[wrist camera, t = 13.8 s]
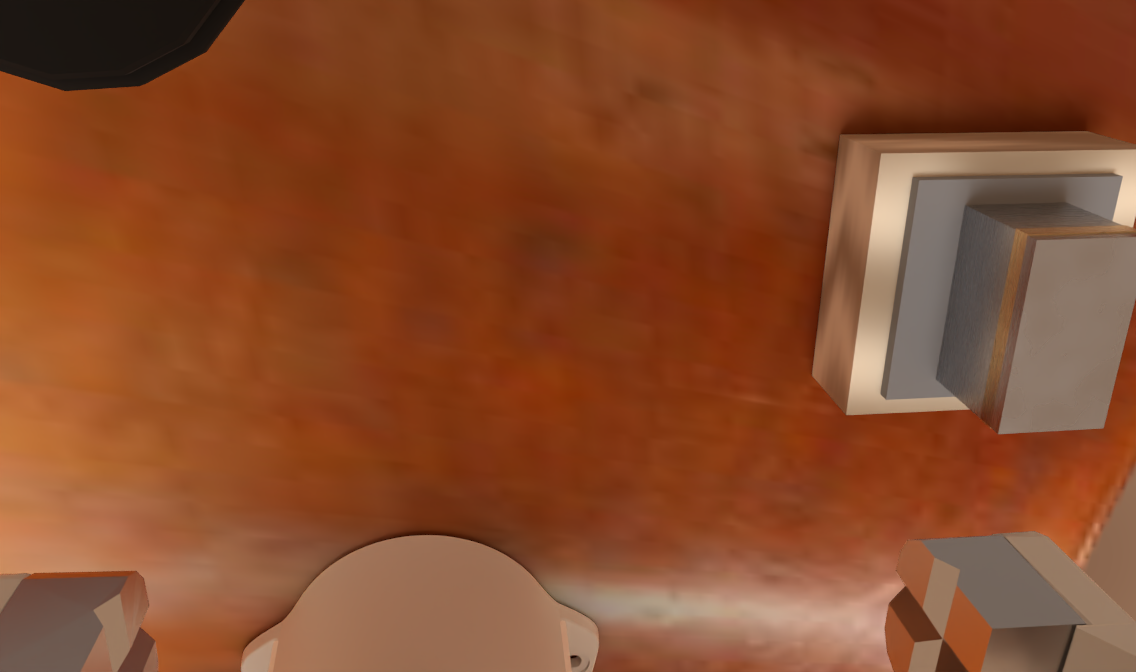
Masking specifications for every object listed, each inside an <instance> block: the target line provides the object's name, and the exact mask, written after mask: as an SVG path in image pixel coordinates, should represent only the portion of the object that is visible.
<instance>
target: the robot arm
mask: <svg viewBox="0 0 1136 672" xmlns="http://www.w3.org/2000/svg"><path fill="white" fill-rule="evenodd" d="M896 572H897V574H898V575H899V577H900V578H901V580H902V582H903V583H904V585H905V587H904V588H903V589H902V590H901V591H900V592H899V593H898V594H897V595H896V597H895V598H894V599H893V600H892V601H891V602H890V603H889V605H888V611H887V617H886V623H885V636H886V645H887V653H888V656H889V659H890V662H891V664H892V667H893V670H894V672H1136V622H1135V621H1134V620H1133V619H1132V618H1131V617H1130V616H1129V615H1128V614H1127V613H1126V612H1125V611H1124V610H1123V609H1122V608H1120V606H1119V605H1118V604H1117V603H1115V602H1114V600H1112V599H1111V598H1110V597H1109V596H1108V595H1107V594H1106V593H1105V592H1104V591H1103V590H1102V589H1101V588H1100V587H1099V586H1098V585H1097V584H1096V583H1095V582H1094V581H1093V580H1092V579H1091V578H1090V577H1089V576H1088V575H1087V574H1086V573H1085V572H1084V571H1083V570H1082V569H1081V568H1080V567H1079V566H1077V565H1076V564H1075V563H1074V562H1073V561H1072V560H1071V559H1070V558H1069V557H1068V556H1067V555H1066V554H1065V553H1064V552H1063V551H1062V550H1061V549H1060V548H1059V547H1058V546H1057V545H1056V544H1055V543H1054V542H1053V541H1052V540H1051V539H1050V538H1049V537H1047V536H1045V535H1043V534H1040V533H1038V532H1035V531H1030V532H1016V533H1002V534H992V535H991V536H974V537H954V538H935V539H915V540H907V541H906V543H905V545H904V546H903V548H902V549H901V551H900V554H899V559H898V563H897V567H896ZM148 607H149V601H148V596H147V591H146V586H145V581H144V578H143V577H142V576H141V575H140V574H139V573H138V572H137V571H112V572H65V573H34V574H32V575H31V574H27V573H24V574H0V672H158V657H157V650H156V643H155V640H154V639H153V638H151V637H150V636H149V635H148V634H147V633H146V632H145V631H144V630H143V629H141V628H140V626H141V623H142V621H143V619H144V616H145V614H146V612H147V609H148ZM598 649H599V633H598V628H597V626H596V624H595V623H594V622H593V621H592V620H591V619H589V618H588V617H586V616H584V615H583V614H581V613H579V612H577V611H575V610H573V609H571V608H568V607H566V606H564V605H562V604H559V603H557V602H556V601H555V600H554V599H553V598H551V597H550V596H549V595H548V593H547V592H546V591H545V590H544V589H543V588H542V587H541V585H540V584H539V583H538V582H537V581H536V579H535V578H534V577H533V576H532V575H531V574H530V573H529V572H528V571H527V570H526V569H524V568H523V567H522V566H521V565H520V564H518V563H517V562H515V561H514V560H513V559H511V558H509V557H508V556H506V555H505V554H503V553H501V552H499V551H497V550H495V549H493V548H490V547H488V546H485V545H483V544H480V543H477V542H473V541H470V540H466V539H461V538H456V537H449V536H439V535H415V536H405V537H399V538H393V539H389V540H384V541H381V542H377V543H374V544H371V545H368V546H366V547H363V548H361V549H358V550H356V551H354V552H352V553H350V554H348V555H346V556H345V557H343V558H341V559H340V560H338V561H337V562H335V563H334V564H332V565H331V566H329V567H328V568H327V569H326V570H324V571H323V572H322V573H321V574H320V575H319V576H318V577H317V578H316V579H315V580H314V581H313V582H312V583H311V584H310V585H309V586H308V588H307V589H306V590H305V591H304V593H303V594H302V596H301V597H300V599H299V600H298V602H297V603H296V605H295V606H294V608H293V609H292V611H291V612H290V613H289V614H288V616H287V617H286V618H285V619H284V620H283V621H282V622H280V623H279V624H277V625H275V626H274V627H272V628H271V629H269V630H267V631H266V632H264V633H263V634H261V635H260V636H258V637H257V638H255V639H254V640H253V641H252V642H250V643H249V644H248V645H247V647H246V648H245V649H244V652H243V655H242V662H241V672H593V668H594V665H595V661H596V657H597V653H598ZM572 655H577V657H576V658H570V656H572Z"/></svg>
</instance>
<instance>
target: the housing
mask: <svg viewBox="0 0 1136 672" xmlns="http://www.w3.org/2000/svg"><path fill="white" fill-rule="evenodd" d="M1135 299H1136V229H1134V228H1132V227H1129V226H1127V225H1121V224H1118V223H1116V222H1113V221H1111V220H1109V219H1106V218H1104V217H1101V216H1099V215H1096V214H1094V213H1091V212H1089V211H1086V210H1084V209H1081V208H1079V207H1076V206H1074V205H1071V204H1069V203H1066V202H1058V203H1022V204H986V205H965V207H964V213H963V219H962V225H961V231H960V237H959V243H958V249H957V255H956V261H955V267H954V273H953V279H952V285H951V291H950V297H949V303H948V309H947V315H946V321H945V327H944V333H943V339H942V345H941V351H940V357H939V363H938V369H937V375H936V380H937V381H938V382H939V383H940V384H942V385H943V386H944V387H945V388H946V389H947V390H948V391H950V392H951V393H952V394H953V395H954V396H955V397H956V398H957V399H959V400H960V401H961V402H962V403H963V404H964V405H965V406H967V407H968V408H969V409H970V410H971V411H972V412H973V413H975V414H976V415H977V416H978V417H979V418H980V420H981V421H982V422H983V423H985V424H986V425H987V426H988V427H989V428H992V429H993V430H994V431H995V432H996V433H997V434H1009V433H1027V432H1045V431H1063V430H1081V429H1099V428H1104V424H1105V420H1106V416H1107V412H1108V408H1109V404H1110V400H1111V396H1112V392H1113V387H1114V383H1115V379H1116V375H1117V371H1118V367H1119V363H1120V359H1121V355H1122V351H1123V347H1124V343H1125V339H1126V335H1127V331H1128V327H1129V323H1130V319H1131V315H1132V311H1133V307H1134V303H1135Z"/></svg>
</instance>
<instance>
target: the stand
mask: <svg viewBox="0 0 1136 672" xmlns="http://www.w3.org/2000/svg"><path fill="white" fill-rule="evenodd" d="M1058 202H1066V203H1069V204H1071V205H1074V206H1076V207H1079V208H1081V209H1084V210H1086V211H1089V212H1091V213H1094V214H1096V215H1099V216H1101V217H1104V218H1106V219H1109V220H1111V221H1113V222H1116V223H1118V224H1121V225H1127V226H1129V227H1132V228H1133V225H1134V220H1135V216H1136V145H1135V144H1131V143H1128V142H1124V141H1120V140H1117V139H1113V138H1110V137H1106V136H1103V135H1099V134H1095V133H1092V132H1088V131H1060V132H986V133H912V134H840V139H839V148H838V156H837V165H836V173H835V182H834V191H833V199H832V208H831V216H830V225H829V233H828V242H827V250H826V259H825V268H824V276H823V285H822V293H821V302H820V310H819V319H818V328H817V336H816V345H815V353H814V362H813V370H812V376H813V377H814V378H815V380H816V381H817V382H818V383H819V384H820V385H821V387H822V388H823V389H824V390H825V391H826V392H827V394H828V395H829V396H830V397H831V398H832V399H833V401H834V402H835V403H836V404H837V405H838V406H839V408H840V409H841V410H842V411H843V412H844V413H845V415H861V414H882V413H903V412H924V411H944V410H965V409H969V408H968V407H967V406H965V405H964V404H963V403H962V402H961V401H960V400H959V399H957V398H956V397H955V396H954V395H953V394H952V393H951V392H950V391H948V390H947V389H946V388H945V387H944V386H943V385H942V384H940V383H939V382H938V381H937V380H936V375H937V369H938V363H939V357H940V351H941V345H942V339H943V333H944V327H945V321H946V315H947V309H948V303H949V297H950V291H951V285H952V279H953V273H954V267H955V261H956V255H957V249H958V243H959V237H960V231H961V225H962V219H963V213H964V207H965V205H986V204H1022V203H1058Z"/></svg>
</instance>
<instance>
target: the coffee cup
mask: <svg viewBox="0 0 1136 672" xmlns="http://www.w3.org/2000/svg"><path fill="white" fill-rule="evenodd" d="M244 1H245V0H0V71H2V72H6V73H9V74H12V75H15V76H19V77H22V78H25V79H28V80H31V81H35V82H38V83H41V84H44V85H48V86H51V87H54V88H57V89H61V90H64V91H72V90H87V89H102V88H117V87H132V86H141V85H143V84H146V83H148V82H150V81H152V80H154V79H155V78H157V77H159V76H161V75H163V74H165V73H167V72H169V71H171V70H173V69H175V68H176V67H178V66H180V65H182V64H184V63H186V62H188V61H190V60H192V59H194V58H195V57H197V56H199V55H201V54H203V53H205V52H207V50H208V49H209V48H210V46H211V45H212V44H213V42H214V41H215V39H216V38H217V37H218V35H219V34H220V33H221V31H222V30H223V29H224V27H225V26H226V25H227V23H228V22H229V21H230V19H231V18H232V17H233V15H234V14H235V13H236V11H237V10H238V9H239V7H240V6H241V5H242V3H243V2H244Z"/></svg>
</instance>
